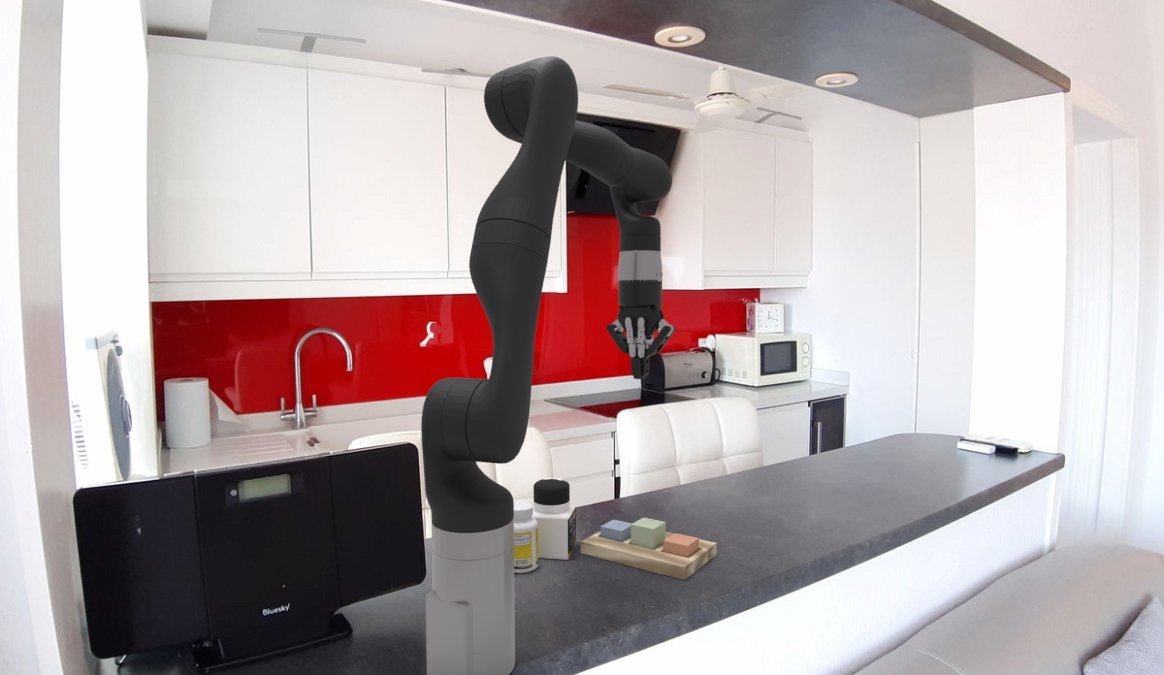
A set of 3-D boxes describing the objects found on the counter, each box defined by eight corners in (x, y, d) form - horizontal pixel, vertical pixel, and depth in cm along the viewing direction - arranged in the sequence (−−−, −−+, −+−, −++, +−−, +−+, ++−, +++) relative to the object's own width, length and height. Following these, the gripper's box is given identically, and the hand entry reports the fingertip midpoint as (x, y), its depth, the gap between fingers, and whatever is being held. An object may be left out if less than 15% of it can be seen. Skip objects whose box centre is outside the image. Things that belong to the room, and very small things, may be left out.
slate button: (621, 551, 110) (621, 531, 110) (600, 546, 112) (600, 526, 112) (634, 544, 113) (634, 524, 113) (613, 539, 116) (613, 519, 115)
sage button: (653, 550, 106) (653, 529, 106) (630, 545, 109) (630, 524, 109) (665, 542, 110) (665, 522, 110) (643, 537, 112) (643, 517, 112)
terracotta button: (687, 568, 103) (687, 546, 103) (663, 562, 105) (663, 540, 105) (698, 559, 106) (698, 538, 106) (675, 553, 109) (675, 533, 109)
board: (684, 580, 99) (684, 567, 99) (580, 553, 110) (580, 541, 110) (716, 554, 109) (716, 543, 109) (618, 532, 120) (618, 521, 120)
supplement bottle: (521, 557, 108) (520, 498, 107) (545, 566, 105) (545, 505, 104) (496, 568, 104) (496, 506, 103) (521, 577, 100) (520, 513, 100)
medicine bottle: (568, 560, 107) (568, 487, 106) (526, 558, 108) (525, 485, 107) (576, 544, 114) (576, 476, 113) (536, 542, 115) (535, 474, 114)
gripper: (595, 278, 114) (596, 378, 115) (664, 277, 106) (664, 383, 107) (618, 279, 120) (618, 374, 121) (684, 278, 113) (684, 378, 114)
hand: (640, 378), depth 114 cm, fingers closed
